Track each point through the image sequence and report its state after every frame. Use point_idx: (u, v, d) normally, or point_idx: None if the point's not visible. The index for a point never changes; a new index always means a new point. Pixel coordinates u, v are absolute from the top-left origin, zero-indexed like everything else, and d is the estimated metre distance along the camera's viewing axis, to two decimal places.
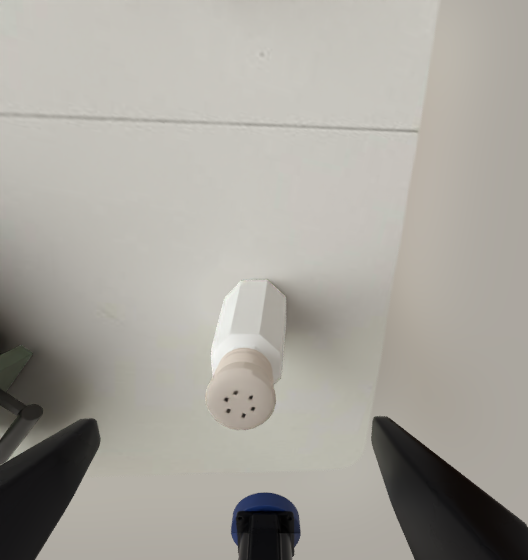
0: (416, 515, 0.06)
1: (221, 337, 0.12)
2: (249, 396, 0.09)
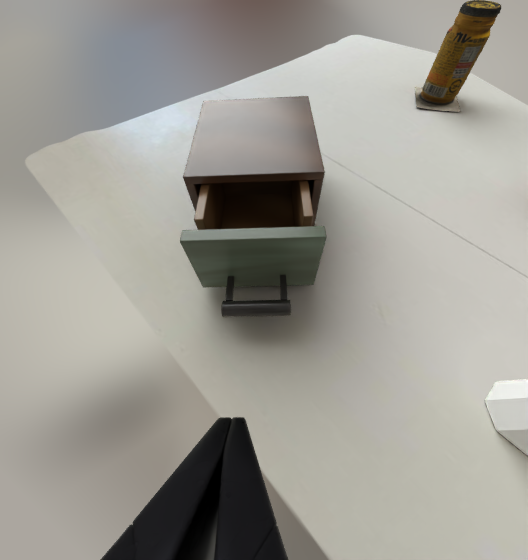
0: None
1: None
2: None
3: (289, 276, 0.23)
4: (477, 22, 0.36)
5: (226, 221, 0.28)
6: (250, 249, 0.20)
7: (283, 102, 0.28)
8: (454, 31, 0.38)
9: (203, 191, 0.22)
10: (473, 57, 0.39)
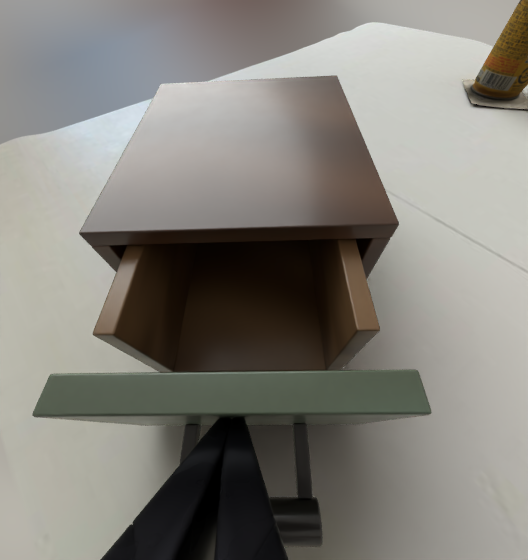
0: None
1: None
2: None
3: (313, 423, 0.11)
4: None
5: (198, 284, 0.17)
6: None
7: (295, 85, 0.16)
8: None
9: (131, 254, 0.10)
10: None
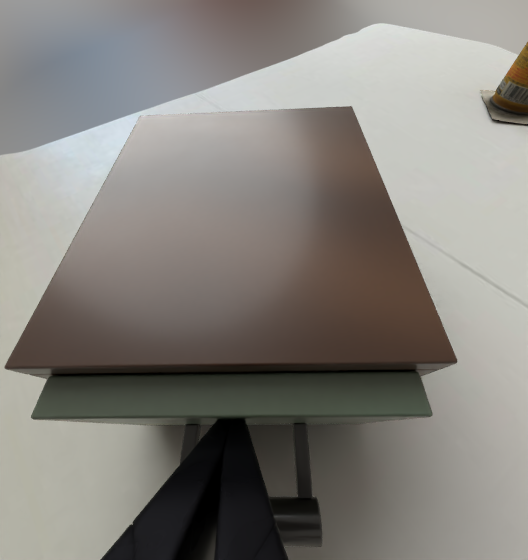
0: None
1: None
2: None
3: (313, 422, 0.11)
4: None
5: None
6: None
7: (302, 120, 0.14)
8: None
9: None
10: None
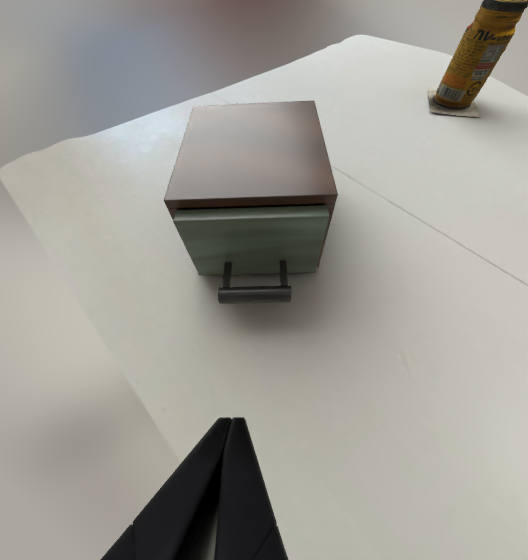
0: None
1: None
2: None
3: (289, 262, 0.22)
4: (502, 18, 0.32)
5: (224, 208, 0.27)
6: (248, 231, 0.19)
7: (285, 108, 0.24)
8: (475, 28, 0.34)
9: None
10: (496, 57, 0.35)
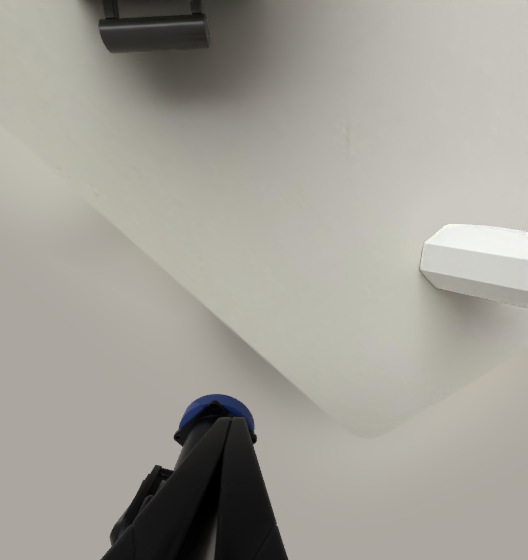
0: None
1: None
2: None
3: None
4: None
5: None
6: None
7: None
8: None
9: None
10: None
